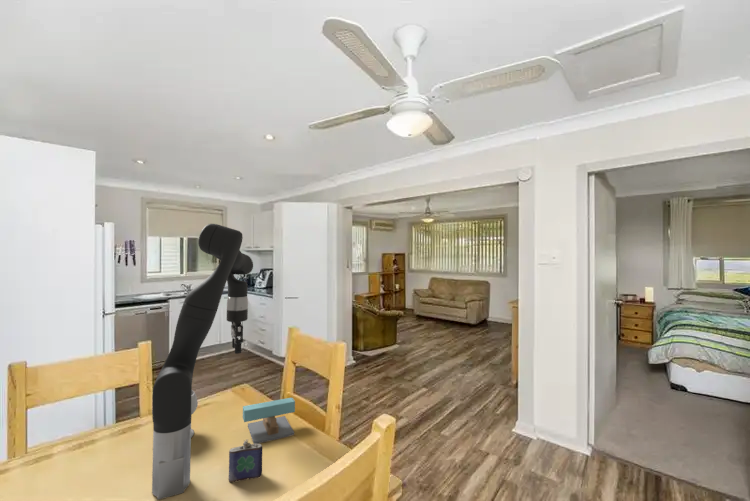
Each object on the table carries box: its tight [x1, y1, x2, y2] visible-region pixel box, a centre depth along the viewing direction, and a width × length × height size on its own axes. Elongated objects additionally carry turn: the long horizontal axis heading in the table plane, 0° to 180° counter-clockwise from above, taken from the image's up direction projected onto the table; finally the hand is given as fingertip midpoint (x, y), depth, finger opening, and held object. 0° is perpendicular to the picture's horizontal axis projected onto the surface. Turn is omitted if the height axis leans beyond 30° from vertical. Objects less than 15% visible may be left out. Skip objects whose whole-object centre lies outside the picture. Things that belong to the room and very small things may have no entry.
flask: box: [228, 439, 264, 483], centre depth 103 cm, size 9×3×11 cm, turn 109°
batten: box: [242, 397, 296, 423], centre depth 129 cm, size 4×18×4 cm, turn 118°
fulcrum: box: [247, 415, 295, 444], centre depth 129 cm, size 14×14×6 cm
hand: (236, 350), depth 134 cm, fingers open, 8 cm apart
